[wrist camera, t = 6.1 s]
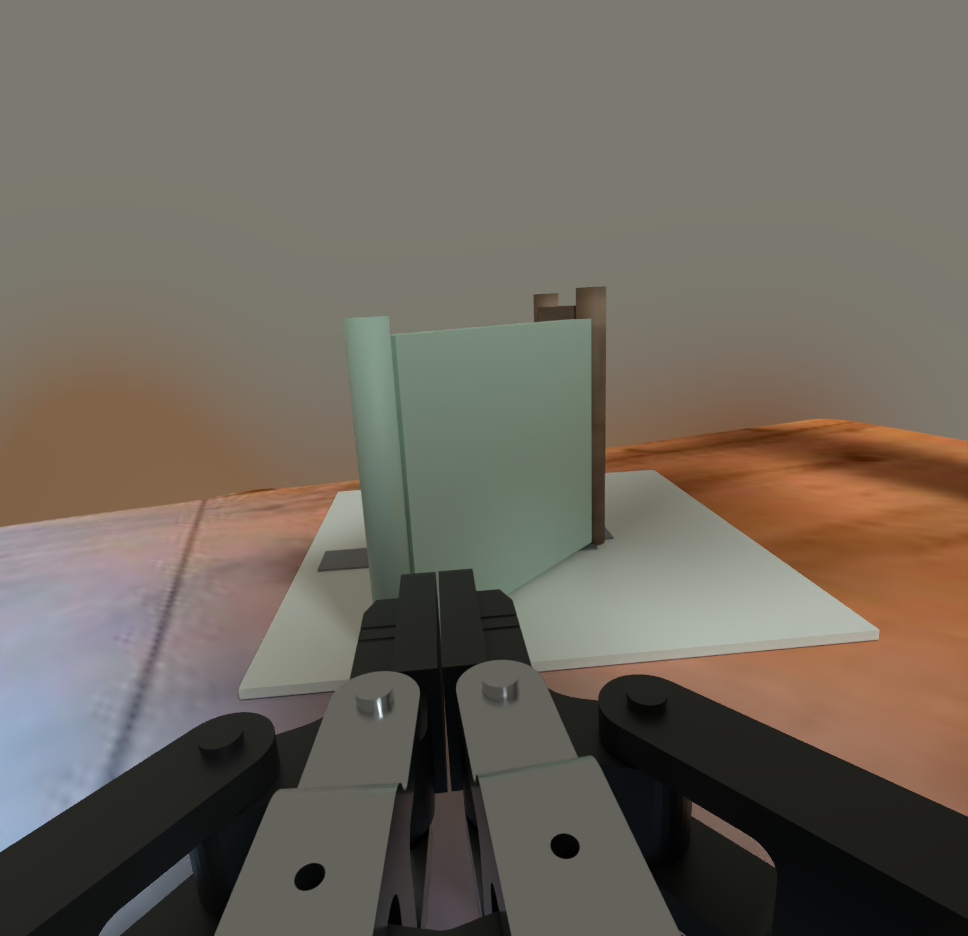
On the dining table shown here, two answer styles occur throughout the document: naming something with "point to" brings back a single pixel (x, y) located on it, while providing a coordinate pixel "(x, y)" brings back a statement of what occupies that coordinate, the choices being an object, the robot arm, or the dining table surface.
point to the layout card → (576, 595)
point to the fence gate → (472, 448)
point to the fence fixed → (593, 308)
